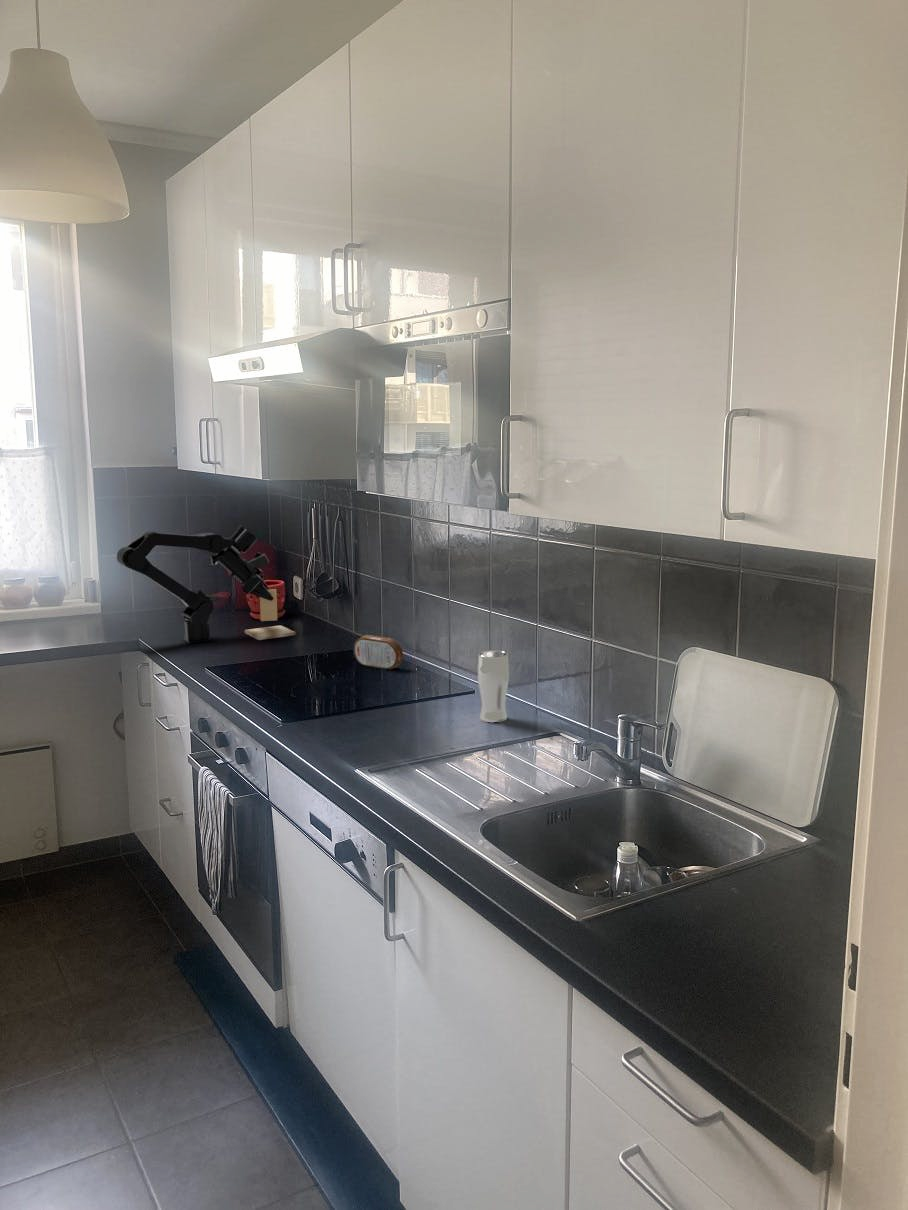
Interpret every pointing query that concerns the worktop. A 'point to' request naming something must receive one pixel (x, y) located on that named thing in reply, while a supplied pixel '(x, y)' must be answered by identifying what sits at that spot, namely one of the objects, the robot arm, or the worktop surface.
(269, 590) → the ochre block
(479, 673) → the beer glass
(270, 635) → the birch board
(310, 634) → the worktop surface
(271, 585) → the plant pot
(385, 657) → the tin
